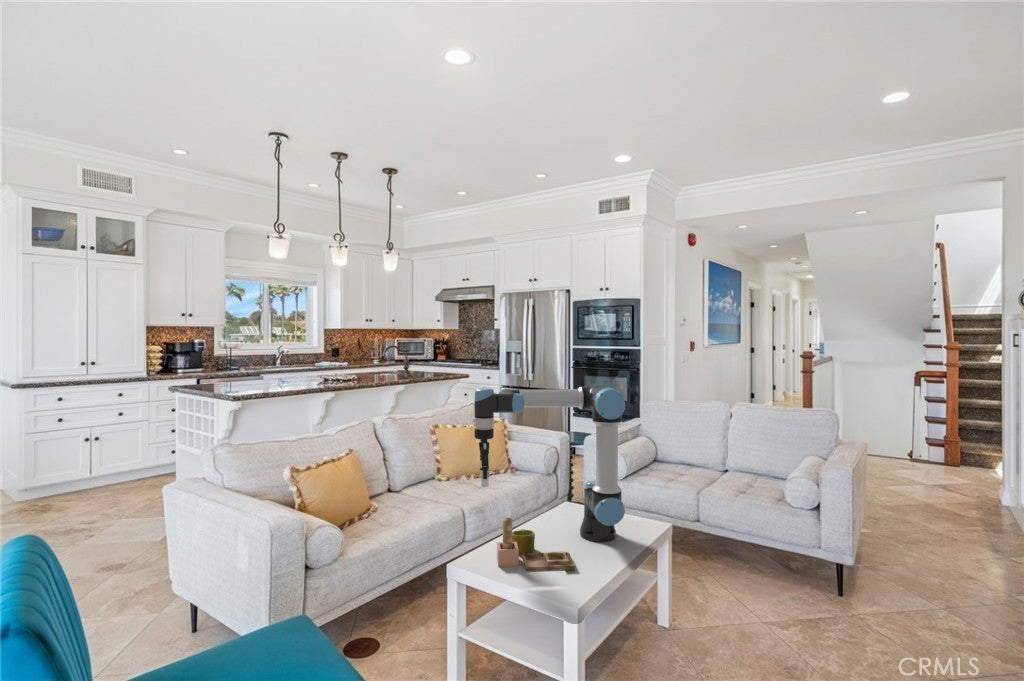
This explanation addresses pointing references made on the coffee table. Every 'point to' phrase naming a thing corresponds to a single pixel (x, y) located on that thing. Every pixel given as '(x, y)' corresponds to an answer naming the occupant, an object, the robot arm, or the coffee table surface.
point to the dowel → (507, 533)
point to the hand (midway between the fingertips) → (484, 481)
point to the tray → (548, 561)
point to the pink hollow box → (507, 555)
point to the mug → (524, 540)
